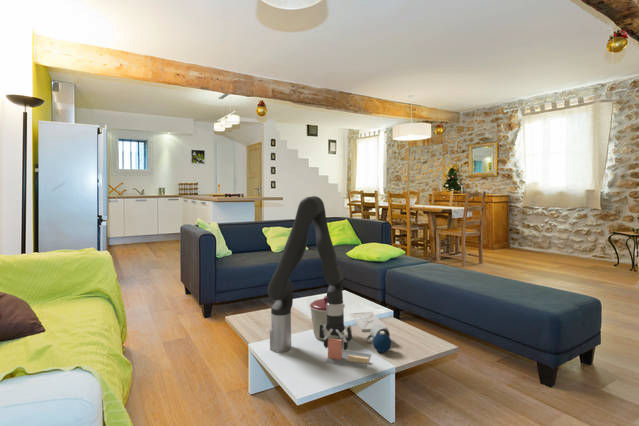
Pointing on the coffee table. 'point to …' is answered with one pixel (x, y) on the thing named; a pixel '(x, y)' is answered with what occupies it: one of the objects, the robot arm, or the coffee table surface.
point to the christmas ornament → (382, 342)
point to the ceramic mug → (376, 332)
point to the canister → (320, 317)
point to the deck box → (334, 348)
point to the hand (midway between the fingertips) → (335, 348)
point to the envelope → (366, 321)
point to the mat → (351, 359)
